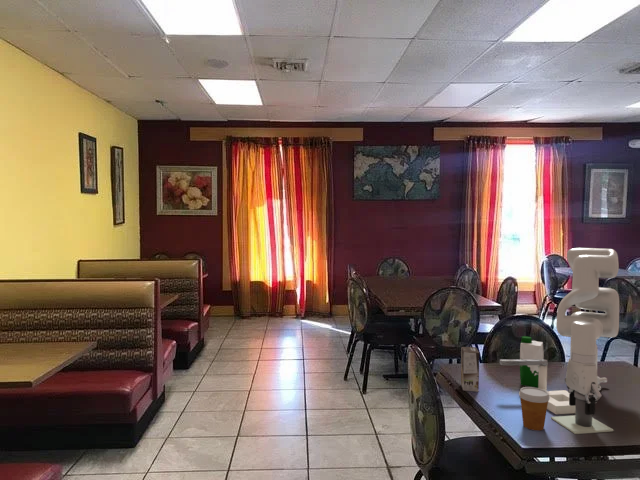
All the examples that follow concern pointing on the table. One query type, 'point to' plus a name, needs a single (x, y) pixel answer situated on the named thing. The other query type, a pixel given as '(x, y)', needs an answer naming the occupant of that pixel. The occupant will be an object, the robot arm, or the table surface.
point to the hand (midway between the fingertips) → (581, 409)
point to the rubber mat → (577, 429)
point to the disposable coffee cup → (534, 407)
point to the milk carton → (530, 352)
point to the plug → (581, 410)
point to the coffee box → (470, 369)
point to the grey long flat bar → (524, 362)
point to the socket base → (555, 395)
